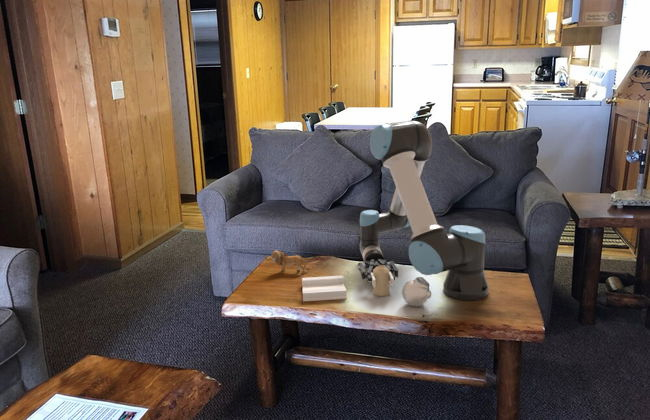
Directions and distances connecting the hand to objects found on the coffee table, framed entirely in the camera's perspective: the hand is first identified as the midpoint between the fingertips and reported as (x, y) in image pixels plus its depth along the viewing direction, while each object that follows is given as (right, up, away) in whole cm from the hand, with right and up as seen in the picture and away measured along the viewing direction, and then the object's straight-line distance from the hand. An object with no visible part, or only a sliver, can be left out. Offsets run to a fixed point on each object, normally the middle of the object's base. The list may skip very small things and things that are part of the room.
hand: (383, 283), depth 182 cm
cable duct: (-20, -4, +10) cm, 23 cm away
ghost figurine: (+11, -7, -3) cm, 13 cm away
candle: (0, -5, +7) cm, 8 cm away
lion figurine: (-34, 0, +29) cm, 44 cm away
